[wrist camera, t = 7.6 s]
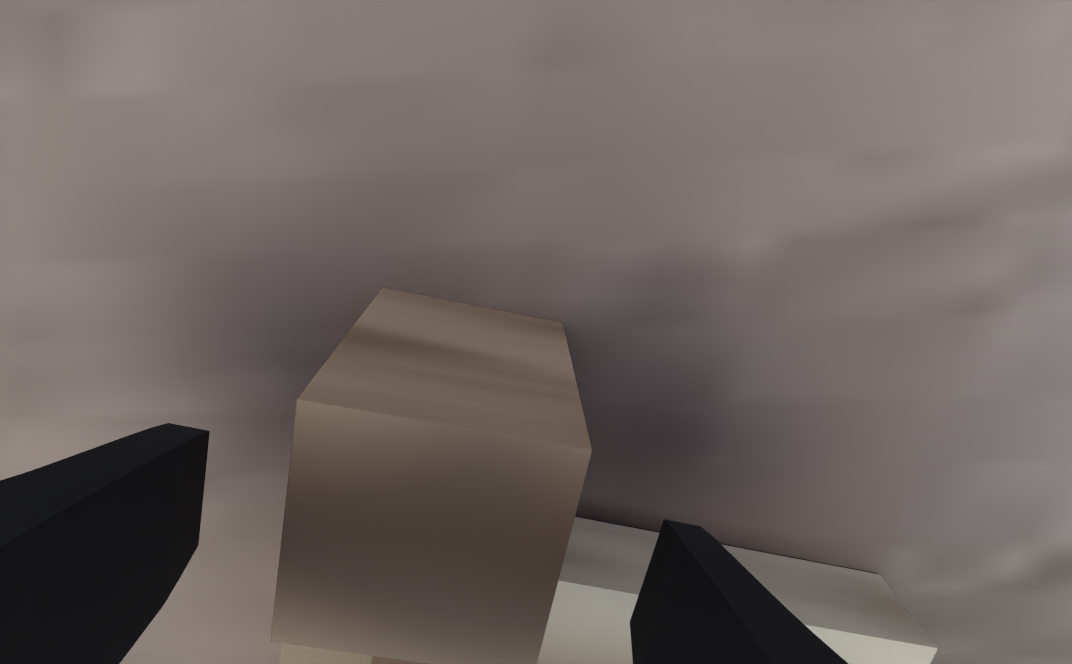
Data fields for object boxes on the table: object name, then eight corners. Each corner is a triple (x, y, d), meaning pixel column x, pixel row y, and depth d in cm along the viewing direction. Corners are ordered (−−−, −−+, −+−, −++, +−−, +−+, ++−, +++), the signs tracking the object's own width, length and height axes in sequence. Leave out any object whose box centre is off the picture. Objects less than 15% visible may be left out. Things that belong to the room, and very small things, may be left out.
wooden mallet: (474, 702, 18) (456, 972, 12) (326, 682, 18) (236, 951, 12) (562, 322, 15) (592, 450, 9) (382, 287, 14) (297, 398, 9)
